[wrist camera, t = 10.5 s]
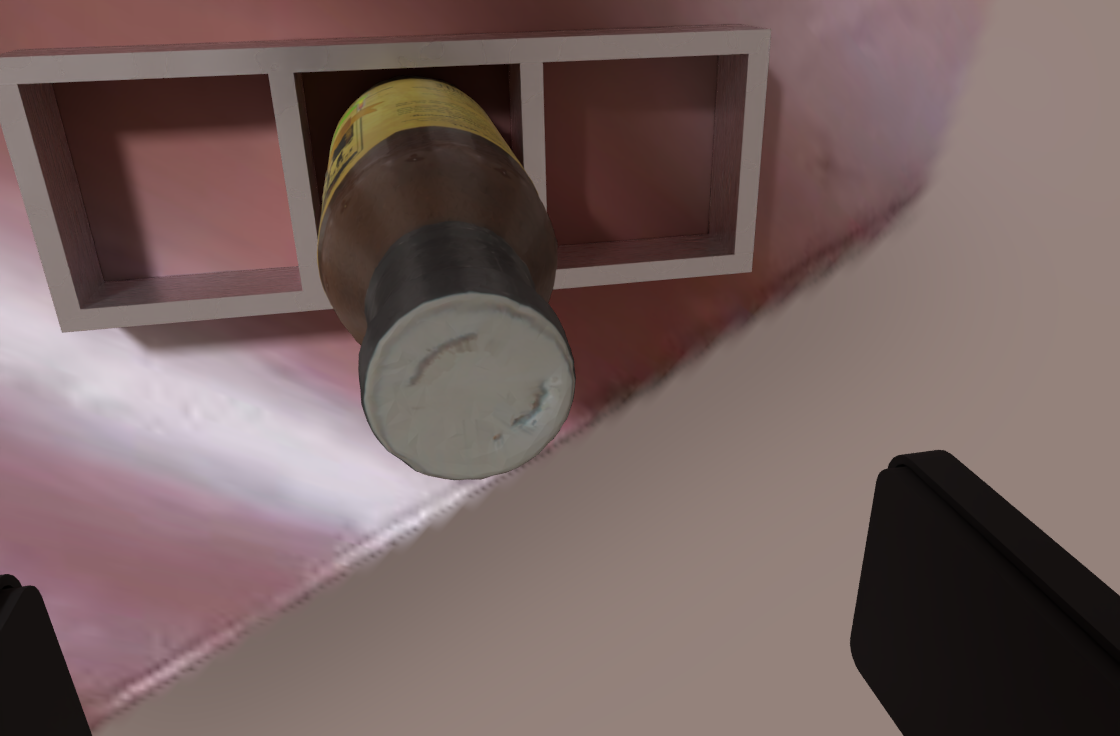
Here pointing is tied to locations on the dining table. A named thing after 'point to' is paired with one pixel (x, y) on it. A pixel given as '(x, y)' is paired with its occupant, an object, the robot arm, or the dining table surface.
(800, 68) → the dining table surface
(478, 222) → the sauce bottle
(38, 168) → the rack with square compartments
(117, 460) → the dining table surface
